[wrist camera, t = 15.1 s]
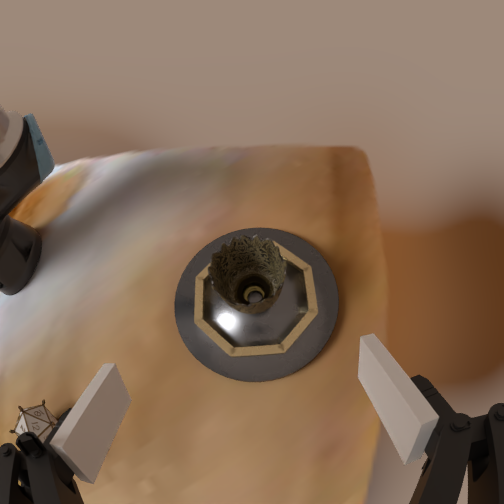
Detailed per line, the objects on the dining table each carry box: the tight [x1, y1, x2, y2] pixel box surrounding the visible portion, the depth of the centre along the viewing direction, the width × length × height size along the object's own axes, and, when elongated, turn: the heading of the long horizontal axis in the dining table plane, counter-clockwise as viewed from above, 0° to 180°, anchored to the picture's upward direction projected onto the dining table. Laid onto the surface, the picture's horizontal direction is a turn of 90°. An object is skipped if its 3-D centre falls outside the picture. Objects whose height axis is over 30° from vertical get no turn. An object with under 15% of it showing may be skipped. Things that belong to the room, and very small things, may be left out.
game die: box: [9, 400, 58, 443], centre depth 23 cm, size 9×8×10 cm
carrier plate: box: [175, 228, 339, 382], centre depth 33 cm, size 20×20×2 cm
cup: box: [208, 234, 287, 314], centre depth 30 cm, size 8×7×8 cm
